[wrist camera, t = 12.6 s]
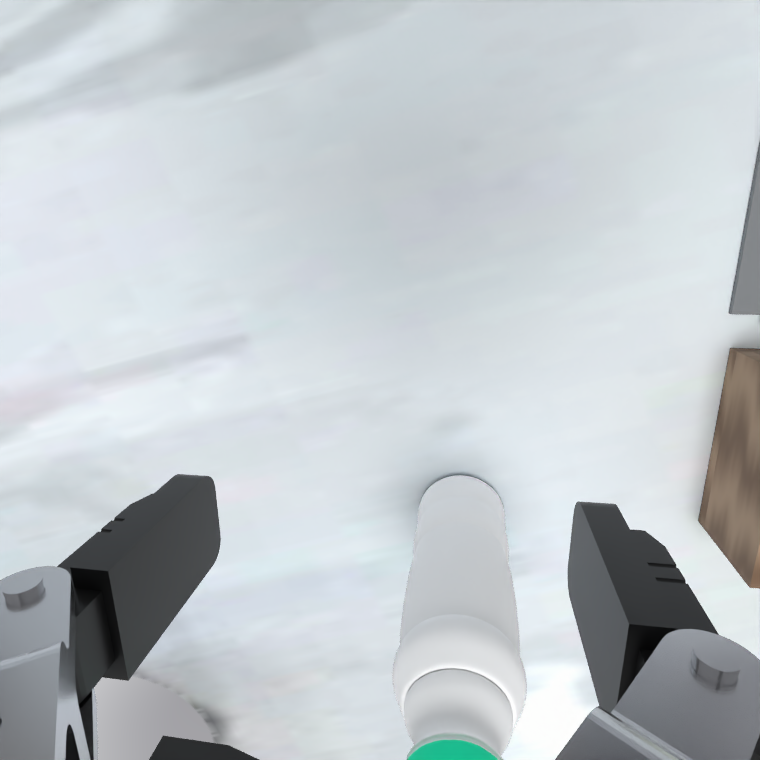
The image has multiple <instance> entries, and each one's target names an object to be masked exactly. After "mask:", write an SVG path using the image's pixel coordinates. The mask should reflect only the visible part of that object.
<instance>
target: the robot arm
mask: <svg viewBox="0 0 760 760" xmlns="http://www.w3.org/2000/svg"><path fill="white" fill-rule="evenodd" d="M219 548H220V528H219V519H218V509H217V500H216V491H215V485H214V481H213V479H212V478H211V477H209V476H198V475H183V474H177V475H175V476H174V477H173V478H171V479H170V480H169V481H168V482H167V483H166V484H165V485H163V486H162V487H161V488H160V489H159V490H158V491H157V492H155V493H154V494H151V495H149V496H147V497H145V498H143V499H141V500H139V501H137V502H135V503H133V504H131V505H129V506H128V507H127V508H126V509H125V510H123V511H122V512H121V513H120V514H119V515H117V516H116V517H115V519H114V521H110V522H109V523H108V524H107V525H106V526H104V527H103V528H102V530H101V532H97V533H96V534H95V535H94V536H93V537H91V538H90V539H89V540H88V541H87V542H86V543H84V544H83V545H82V546H81V547H80V548H78V549H77V550H76V551H75V552H74V553H73V554H71V555H70V556H69V557H68V558H67V559H65V560H64V561H63V562H62V563H61V564H60V565H58V566H57V567H55V566H43V567H36V568H31V569H27V570H24V571H20V572H18V573H15V574H12V575H10V576H8V577H6V578H4V579H2V580H0V760H98V735H97V705H96V704H97V703H96V696H95V691H94V687H95V685H96V684H97V683H98V682H99V680H100V679H101V678H102V677H105V678H113V679H120V680H129V679H130V678H131V676H132V675H133V674H134V672H135V671H136V669H137V668H138V667H139V665H140V664H141V663H142V661H143V660H144V659H145V657H146V656H147V654H148V653H149V652H150V650H151V649H152V648H153V646H154V645H155V644H156V642H157V641H158V639H159V638H160V637H161V635H162V634H163V633H164V631H165V630H166V629H167V627H168V626H169V625H170V623H171V622H172V620H173V619H174V618H175V616H176V615H177V614H178V612H179V611H180V610H181V608H182V607H183V605H184V604H185V603H186V601H187V600H188V599H189V597H190V596H191V595H192V593H193V592H194V590H195V589H196V588H197V586H198V585H199V584H200V582H201V581H202V580H203V578H204V577H205V575H206V574H207V573H208V571H209V570H210V569H211V567H212V566H213V564H214V563H215V561H216V559H217V556H218V553H219ZM568 589H569V596H570V600H571V604H572V608H573V611H574V615H575V619H576V622H577V626H578V629H579V633H580V637H581V640H582V644H583V648H584V651H585V655H586V659H587V662H588V666H589V669H590V673H591V677H592V680H593V684H594V688H595V691H596V695H597V699H598V702H599V707H596V708H595V709H593V710H592V711H591V712H590V713H589V715H588V716H587V717H586V719H585V720H584V721H583V723H582V724H581V725H580V727H579V728H578V729H577V731H576V732H575V733H574V735H573V736H572V738H571V739H570V740H569V742H568V743H567V744H566V746H565V747H564V748H563V750H562V751H561V752H560V754H559V755H558V757H557V758H556V759H555V760H760V660H759V659H758V658H757V657H756V656H755V655H753V654H752V653H751V652H749V651H748V650H747V649H745V648H744V647H742V646H741V645H739V644H737V643H735V642H733V641H731V640H730V639H727V638H725V637H723V636H720V635H719V634H718V633H717V631H716V629H715V628H714V626H713V625H712V623H711V621H710V620H709V618H708V616H707V615H706V613H705V611H704V610H703V608H702V606H701V605H700V603H699V602H698V600H697V598H696V597H695V595H694V593H693V592H692V590H691V588H690V587H689V585H688V584H686V583H685V579H684V577H683V575H682V574H681V572H680V570H679V569H678V568H676V564H675V562H674V561H673V559H672V557H671V556H670V554H669V552H668V551H667V549H666V547H665V546H663V545H662V544H661V543H660V542H658V541H657V540H656V539H655V538H653V537H652V536H651V535H649V534H648V533H647V532H646V531H642V530H630V529H629V527H628V525H627V523H626V522H625V520H624V518H623V516H622V514H621V512H620V510H619V508H618V507H617V505H616V504H606V503H591V502H577V503H576V505H575V509H574V516H573V525H572V534H571V544H570V553H569V562H568ZM149 760H259V759H257V758H254V757H252V756H250V755H248V754H246V753H244V752H242V751H239V750H237V749H235V748H233V747H231V746H229V745H223V744H216V743H209V742H202V741H196V740H189V739H182V738H175V737H168V736H163V737H162V739H161V740H160V742H159V744H158V745H157V747H156V749H155V751H154V752H153V754H152V756H151V757H150V759H149Z"/></svg>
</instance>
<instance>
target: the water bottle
mask: <svg viewBox="0 0 760 760" xmlns="http://www.w3.org/2000/svg"><path fill="white" fill-rule="evenodd" d="M505 531H506V523H505V513H504V508H503V504H502V502H501V500H500V498H499V496H498V495H497V493H496V492H495V491H494V490H493V489H492V488H491V487H490V486H489V485H488V484H486V483H485V482H483V481H481V480H479V479H477V478H474V477H470V476H463V475H456V476H450V477H446V478H443V479H441V480H439V481H437V482H435V483H434V484H433V485H431V486H430V487H429V488H428V489H427V491H426V492H425V493H424V495H423V497H422V499H421V502H420V505H419V510H418V519H417V529H416V533H415V537H414V544H413V560H412V564H411V567H410V571H409V576H408V581H407V586H406V592H405V598H404V605H403V612H402V620H401V631H400V645H399V647H398V650H397V652H396V655H395V659H394V664H393V675H392V676H393V688H394V693H395V697H396V700H397V703H398V705H399V708H400V710H401V713H402V715H403V718H404V721H405V726H406V729H407V732H408V734H409V737H410V739H411V741H412V742H413V744H414V746H413V747H412V748H411V749H410V751H409V753H408V755H407V760H503V758H502V757H501V755H502V754H503V753H504V751H505V750H506V748H507V746H508V744H509V742H510V739H511V736H512V732H513V730H514V728H515V726H516V724H517V722H518V720H519V718H520V716H521V714H522V711H523V708H524V704H525V700H526V691H527V684H526V675H525V670H524V666H523V663H522V660H521V658H520V640H519V626H518V616H517V607H516V600H515V593H514V587H513V581H512V576H511V571H510V567H509V546H508V540H507V535H506V532H505Z"/></svg>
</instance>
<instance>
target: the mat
mask: <svg viewBox="0 0 760 760" xmlns="http://www.w3.org/2000/svg"><path fill="white" fill-rule="evenodd" d="M729 313H730V314H752V315H760V144H759V150H758V155H757V161H756V166H755V172H754V177H753V183H752V188H751V194H750V199H749V205H748V211H747V216H746V222H745V227H744V233H743V238H742V244H741V249H740V255H739V260H738V266H737V271H736V277H735V282H734V288H733V294H732V299H731V305H730V310H729Z"/></svg>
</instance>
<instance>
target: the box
mask: <svg viewBox="0 0 760 760" xmlns="http://www.w3.org/2000/svg"><path fill="white" fill-rule="evenodd" d="M698 521H699V523H700V524H701V525H702V527H703V528H704V529H705V530H706V532H707V533H708V534H709V536H710V537H711V538H712V539H713V541H714V542H715V543H716V545H717V546H718V547H719V549H720V550H721V551H722V552H723V554H724V555H725V556H726V558H727V559H728V560H729V561H730V563H731V564H732V565H733V567H734V568H735V569H736V571H737V572H738V573H739V574H740V576H741V577H742V578H743V580H744V581H745V582H746V583H747V585H748V586H749V587H750V588H760V349H744V348H730V352H729V358H728V363H727V369H726V374H725V379H724V385H723V390H722V396H721V401H720V406H719V412H718V417H717V423H716V428H715V433H714V439H713V444H712V450H711V455H710V460H709V466H708V471H707V477H706V482H705V488H704V493H703V498H702V504H701V509H700V515H699V520H698Z"/></svg>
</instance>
